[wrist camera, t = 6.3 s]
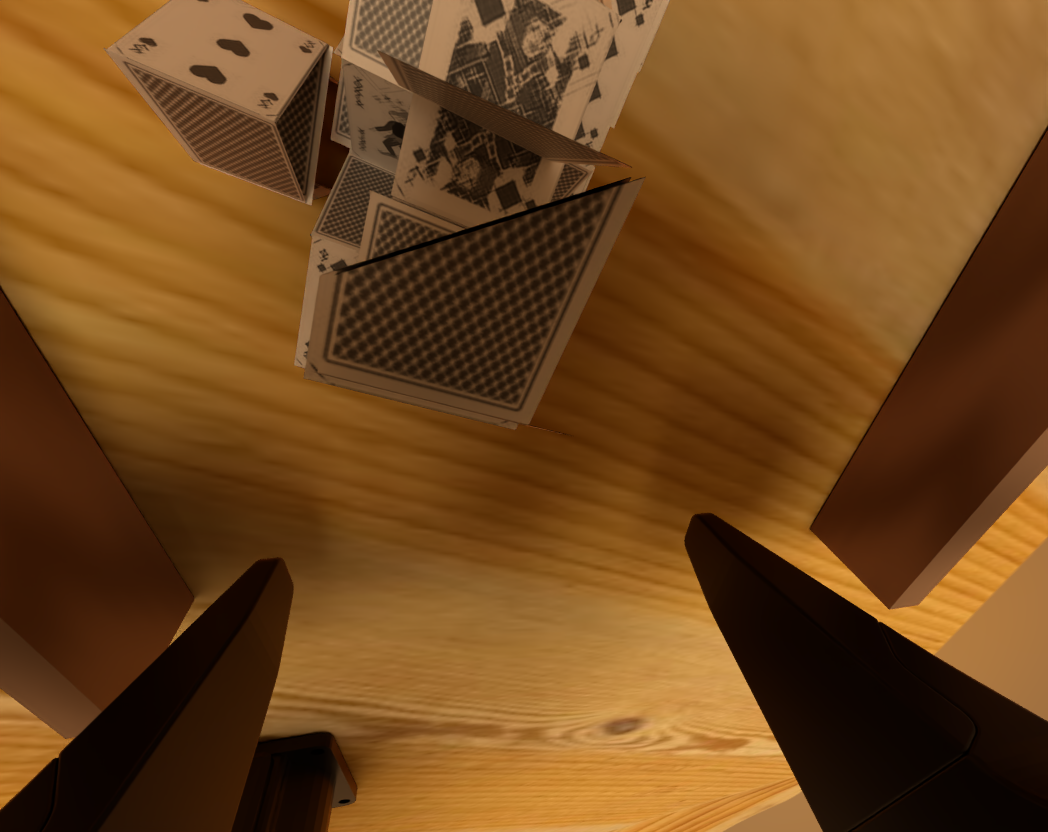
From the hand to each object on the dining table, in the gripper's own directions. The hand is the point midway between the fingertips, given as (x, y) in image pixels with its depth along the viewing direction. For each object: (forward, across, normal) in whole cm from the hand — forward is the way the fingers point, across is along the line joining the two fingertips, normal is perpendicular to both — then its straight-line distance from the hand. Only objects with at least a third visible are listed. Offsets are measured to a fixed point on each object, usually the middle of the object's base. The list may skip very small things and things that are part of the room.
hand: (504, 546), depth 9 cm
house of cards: (+2, +3, -8) cm, 9 cm away
